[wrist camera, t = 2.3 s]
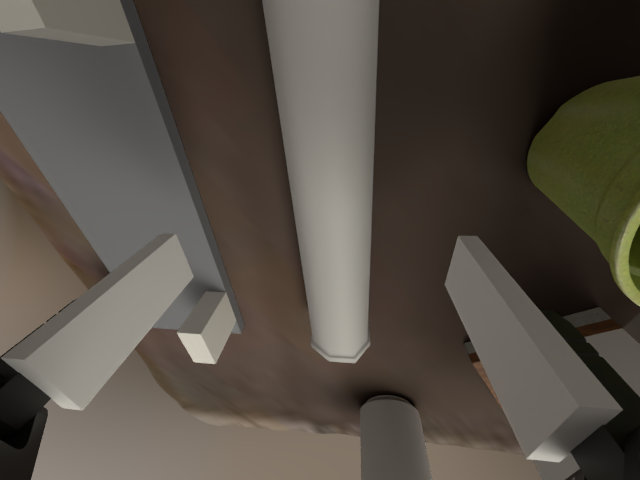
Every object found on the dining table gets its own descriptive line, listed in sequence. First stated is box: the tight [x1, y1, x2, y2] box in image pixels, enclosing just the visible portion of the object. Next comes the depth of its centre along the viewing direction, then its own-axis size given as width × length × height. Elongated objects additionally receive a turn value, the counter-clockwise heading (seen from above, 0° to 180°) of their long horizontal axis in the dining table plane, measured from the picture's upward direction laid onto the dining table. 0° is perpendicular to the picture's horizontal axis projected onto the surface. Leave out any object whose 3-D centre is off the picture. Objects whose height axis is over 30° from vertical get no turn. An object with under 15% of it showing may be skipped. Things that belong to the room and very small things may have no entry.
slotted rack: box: [0, 0, 245, 364], centre depth 17 cm, size 11×30×6 cm, turn 3°
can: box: [360, 395, 432, 480], centre depth 28 cm, size 8×8×12 cm
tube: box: [262, 0, 379, 363], centre depth 16 cm, size 5×5×25 cm
